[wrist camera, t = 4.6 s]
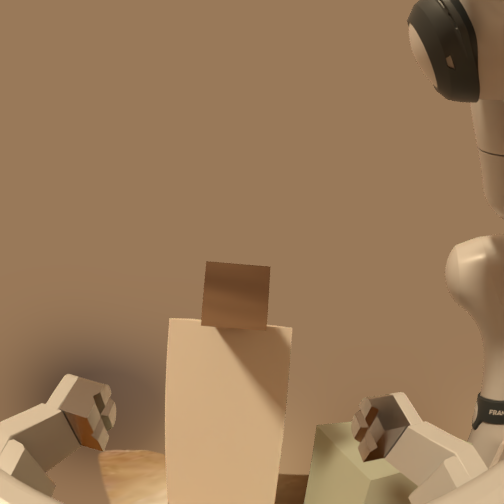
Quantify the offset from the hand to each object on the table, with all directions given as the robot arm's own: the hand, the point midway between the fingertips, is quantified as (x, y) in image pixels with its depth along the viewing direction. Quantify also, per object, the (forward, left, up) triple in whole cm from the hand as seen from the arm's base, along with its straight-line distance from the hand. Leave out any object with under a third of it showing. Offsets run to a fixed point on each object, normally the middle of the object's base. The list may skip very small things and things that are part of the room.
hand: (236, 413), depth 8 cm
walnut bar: (+12, -12, +3) cm, 18 cm away
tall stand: (+15, -15, -23) cm, 32 cm away
